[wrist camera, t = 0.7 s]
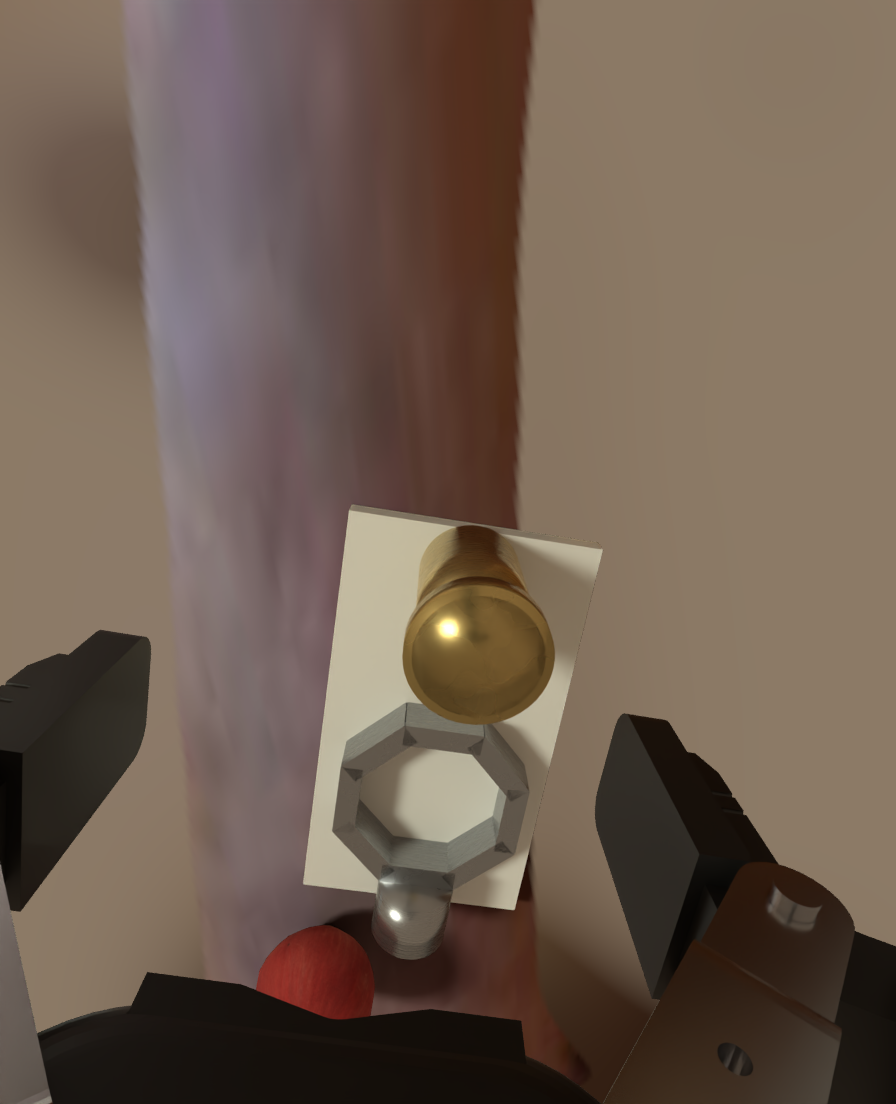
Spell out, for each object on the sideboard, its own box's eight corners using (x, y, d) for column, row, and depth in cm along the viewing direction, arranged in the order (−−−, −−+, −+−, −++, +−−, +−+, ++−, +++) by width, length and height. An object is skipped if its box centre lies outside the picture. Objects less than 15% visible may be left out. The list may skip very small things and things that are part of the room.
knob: (421, 510, 30) (414, 576, 22) (537, 528, 30) (569, 599, 22) (404, 617, 31) (392, 713, 24) (514, 633, 32) (538, 734, 24)
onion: (390, 963, 39) (377, 1119, 31) (289, 978, 39) (252, 1137, 32) (367, 881, 37) (347, 1025, 30) (261, 897, 37) (215, 1045, 30)
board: (351, 504, 31) (349, 510, 30) (598, 542, 31) (603, 549, 30) (306, 869, 37) (303, 884, 36) (512, 895, 38) (514, 910, 37)
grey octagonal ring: (352, 694, 32) (342, 738, 29) (535, 719, 33) (546, 766, 30) (326, 888, 36) (314, 948, 33) (491, 908, 37) (496, 970, 33)
